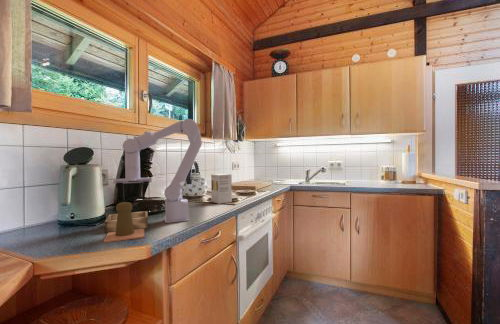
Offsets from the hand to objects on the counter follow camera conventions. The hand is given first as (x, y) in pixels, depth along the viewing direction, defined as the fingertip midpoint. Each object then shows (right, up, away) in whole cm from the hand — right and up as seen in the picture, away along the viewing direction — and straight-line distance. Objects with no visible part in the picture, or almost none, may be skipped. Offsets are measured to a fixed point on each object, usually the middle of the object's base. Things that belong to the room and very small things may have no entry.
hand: (133, 200), depth 106 cm
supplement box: (+32, -8, +46) cm, 57 cm away
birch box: (0, -10, -5) cm, 11 cm away
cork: (+5, -9, -17) cm, 20 cm away
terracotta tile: (+6, -10, -18) cm, 21 cm away
